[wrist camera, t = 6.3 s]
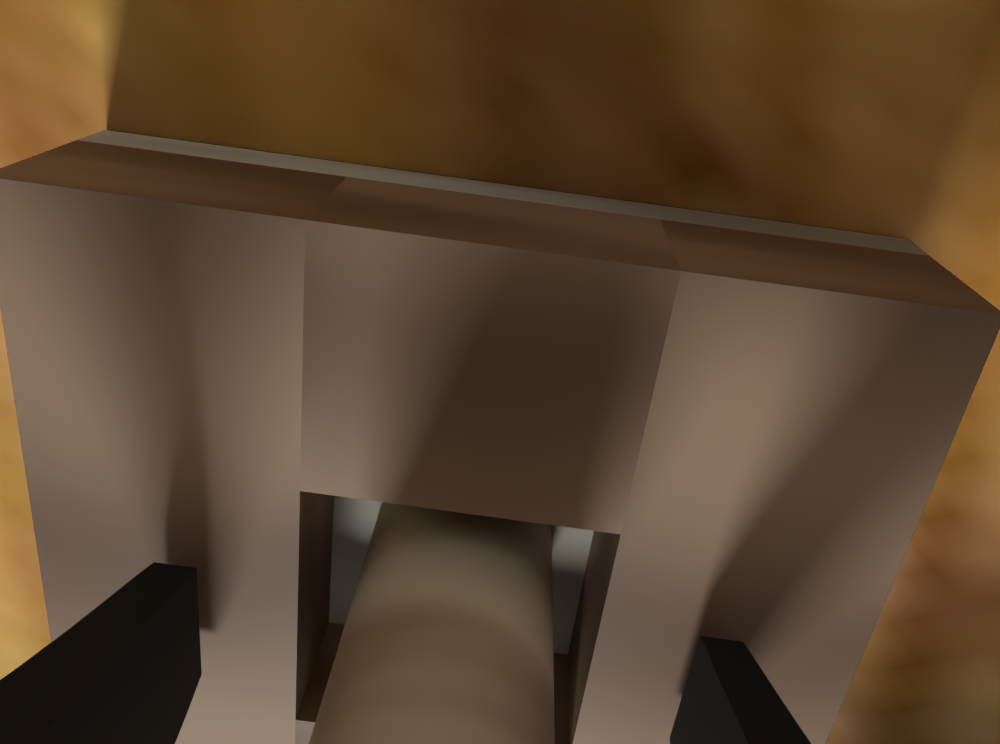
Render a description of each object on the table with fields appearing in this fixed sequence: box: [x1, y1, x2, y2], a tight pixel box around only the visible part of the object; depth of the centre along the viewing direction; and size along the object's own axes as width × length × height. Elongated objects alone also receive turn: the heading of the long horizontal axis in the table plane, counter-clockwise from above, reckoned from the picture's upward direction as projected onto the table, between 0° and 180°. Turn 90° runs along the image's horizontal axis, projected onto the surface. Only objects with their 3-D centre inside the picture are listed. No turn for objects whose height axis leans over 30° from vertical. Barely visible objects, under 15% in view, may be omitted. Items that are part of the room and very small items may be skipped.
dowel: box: [309, 502, 555, 744], centre depth 11 cm, size 3×3×7 cm
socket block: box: [0, 130, 1000, 744], centre depth 14 cm, size 12×12×3 cm
